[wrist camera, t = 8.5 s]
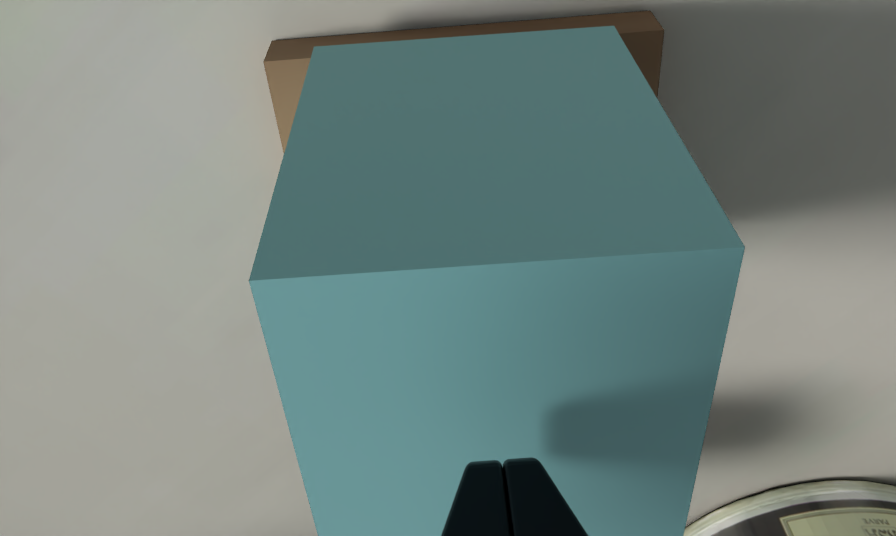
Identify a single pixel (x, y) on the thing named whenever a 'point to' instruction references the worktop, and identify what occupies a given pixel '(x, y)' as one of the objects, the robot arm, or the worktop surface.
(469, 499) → the robot arm
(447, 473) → the turquoise upright block
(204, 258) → the worktop surface
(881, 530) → the coffee can
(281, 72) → the walnut strip
